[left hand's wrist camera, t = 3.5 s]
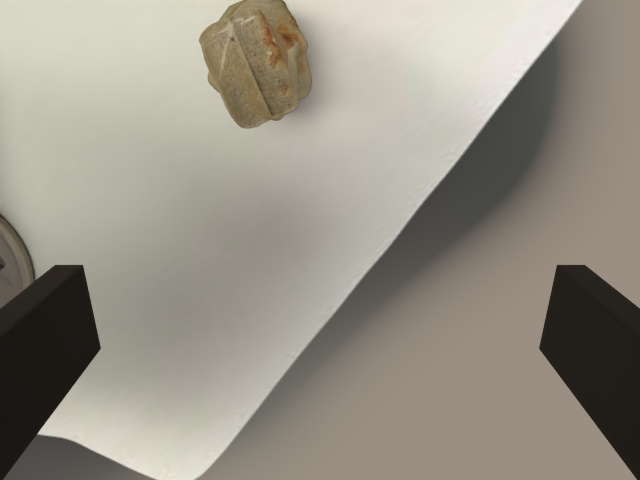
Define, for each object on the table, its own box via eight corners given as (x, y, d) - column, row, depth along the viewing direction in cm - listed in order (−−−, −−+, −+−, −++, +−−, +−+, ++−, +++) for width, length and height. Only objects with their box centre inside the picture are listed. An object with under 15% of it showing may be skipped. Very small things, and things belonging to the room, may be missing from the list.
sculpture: (252, 113, 36) (209, 149, 22) (218, 16, 33) (146, -13, 20) (323, 90, 35) (324, 113, 22) (294, -10, 33) (275, -58, 19)
